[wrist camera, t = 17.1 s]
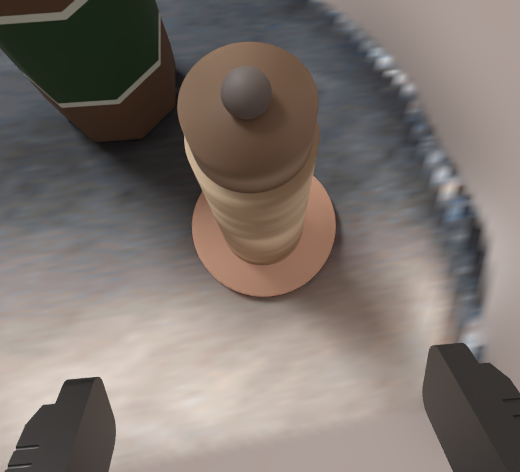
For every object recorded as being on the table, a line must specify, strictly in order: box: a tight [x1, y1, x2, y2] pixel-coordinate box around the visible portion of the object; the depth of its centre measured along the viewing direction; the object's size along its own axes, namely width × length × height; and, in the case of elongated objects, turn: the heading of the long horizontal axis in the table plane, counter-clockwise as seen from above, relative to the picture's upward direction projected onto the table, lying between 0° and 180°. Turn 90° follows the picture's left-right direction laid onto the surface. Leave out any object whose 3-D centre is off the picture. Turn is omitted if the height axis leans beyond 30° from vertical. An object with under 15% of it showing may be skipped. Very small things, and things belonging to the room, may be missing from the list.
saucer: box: [192, 176, 336, 297], centre depth 26 cm, size 8×8×1 cm
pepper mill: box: [177, 42, 319, 265], centre depth 19 cm, size 4×4×14 cm
